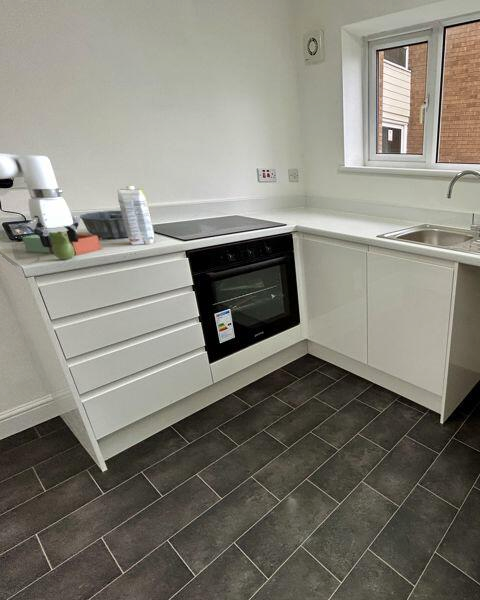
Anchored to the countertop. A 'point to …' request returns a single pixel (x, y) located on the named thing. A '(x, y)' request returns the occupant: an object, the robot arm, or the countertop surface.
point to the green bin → (36, 244)
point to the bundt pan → (105, 224)
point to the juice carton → (136, 215)
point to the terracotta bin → (85, 244)
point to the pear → (62, 246)
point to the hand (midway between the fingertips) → (61, 244)
